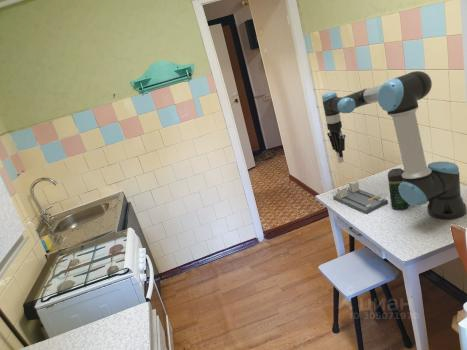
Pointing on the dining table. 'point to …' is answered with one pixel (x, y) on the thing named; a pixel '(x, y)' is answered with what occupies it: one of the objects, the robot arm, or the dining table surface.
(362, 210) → the console
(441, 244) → the dining table surface
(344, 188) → the fader
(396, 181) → the coffee jar
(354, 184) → the fader
